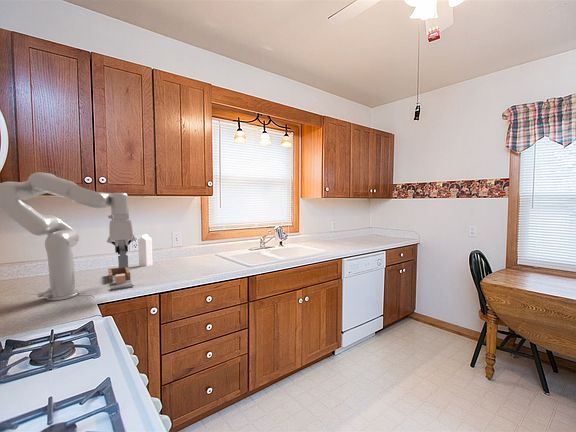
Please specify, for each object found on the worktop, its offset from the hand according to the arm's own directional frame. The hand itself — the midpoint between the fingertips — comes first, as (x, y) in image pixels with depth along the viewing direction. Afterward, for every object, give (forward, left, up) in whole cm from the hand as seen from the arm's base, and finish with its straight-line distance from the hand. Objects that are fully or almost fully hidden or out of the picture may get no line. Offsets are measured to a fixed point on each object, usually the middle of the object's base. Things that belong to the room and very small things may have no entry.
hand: (122, 253), depth 145 cm
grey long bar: (+2, +4, -4) cm, 6 cm away
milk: (+35, +37, -19) cm, 55 cm away
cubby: (+7, +16, -19) cm, 26 cm away
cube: (+4, +11, -18) cm, 22 cm away
